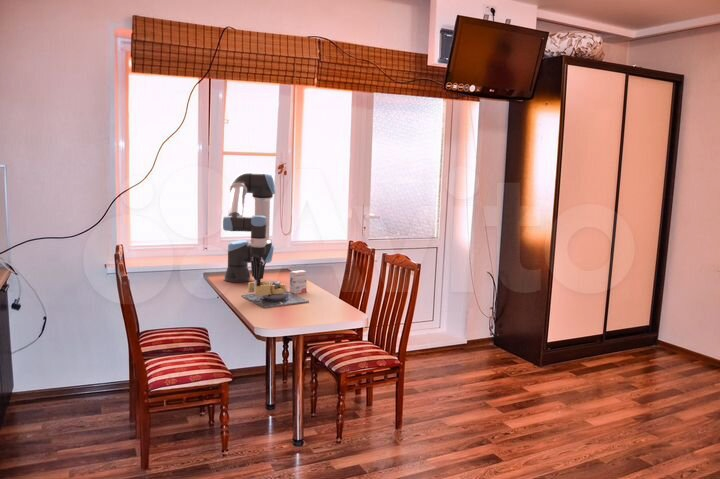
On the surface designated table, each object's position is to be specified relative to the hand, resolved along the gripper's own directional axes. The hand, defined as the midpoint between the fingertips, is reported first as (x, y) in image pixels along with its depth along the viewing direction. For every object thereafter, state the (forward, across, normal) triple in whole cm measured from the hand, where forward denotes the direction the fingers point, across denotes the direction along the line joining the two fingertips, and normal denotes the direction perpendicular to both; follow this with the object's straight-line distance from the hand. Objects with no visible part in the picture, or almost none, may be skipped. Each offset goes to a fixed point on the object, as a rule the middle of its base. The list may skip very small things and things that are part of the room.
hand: (257, 291), depth 300 cm
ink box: (+6, -9, +30) cm, 31 cm away
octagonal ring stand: (+1, 0, +7) cm, 7 cm away
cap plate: (+6, 0, +10) cm, 12 cm away
